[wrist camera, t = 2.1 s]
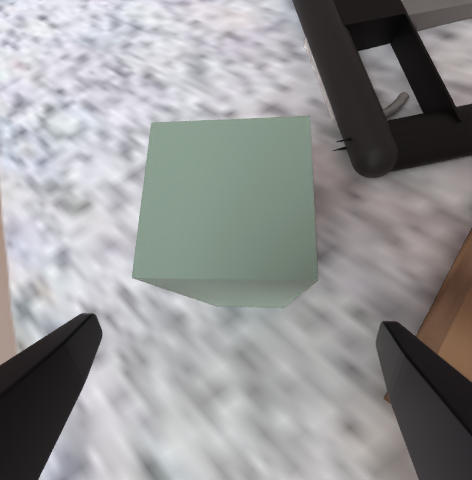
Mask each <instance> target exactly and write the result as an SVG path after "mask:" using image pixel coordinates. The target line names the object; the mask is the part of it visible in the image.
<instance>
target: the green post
mask: <svg viewBox="0 0 472 480" xmlns="http://www.w3.org/2000/svg"><path fill="white" fill-rule="evenodd" d="M132 278H134V279H137V280H140V281H143V282H146V283H149V284H152V285H155V286H158V287H161V288H164V289H166V290H169V291H172V292H175V293H178V294H181V295H184V296H187V297H190V298H193V299H196V300H199V301H202V302H205V303H208V304H211V305H214V306H223V307H266V308H284V307H286V306H287V305H288V304H289V303H291V302H292V301H293V300H294V299H296V298H297V297H298V296H299V295H301V294H302V293H303V292H304V291H306V290H307V289H308V288H309V287H310V286H312V285H313V284H314V283H315V282H317V281H318V267H317V247H316V227H315V207H314V187H313V167H312V147H311V127H310V116H298V117H275V118H251V119H228V120H204V121H181V122H157V123H151V129H150V137H149V145H148V153H147V161H146V169H145V177H144V185H143V193H142V201H141V208H140V216H139V224H138V232H137V240H136V248H135V256H134V264H133V272H132Z"/></svg>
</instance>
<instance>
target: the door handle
mask: <svg viewBox="0 0 472 480" xmlns="http://www.w3.org/2000/svg"><path fill="white" fill-rule="evenodd" d="M293 3H294V6H295V9H296V11H297V14H298V17H299V20H300V22H301V25H302V28H303V31H304V33H305V36H306V37H305V41H304V49H306V50H307V53H308V56H309V59H310V61H311V64H312V67H313V70H314V72H315V75H316V78H317V81H318V84H319V86H320V89H321V92H322V95H323V97H324V100H325V103H326V106H327V109H328V111H329V114H330V117H331V120H332V122H337V124H338V127H339V129H340V132H341V135H342V138H343V140H341V141H337V142H342V141H344V143H345V146H346V147H343V148H340V149H336V150H345V149H347V151H348V154H349V157H350V159H351V162H352V165H353V167H354V169H355V170H356V171H357V172H358V173H359V174H360V175H362V176H365V177H369V178H376V177H380V176H383V175H385V174H387V173H388V172H391V171H396V170H401V169H406V168H411V167H416V166H421V165H426V164H431V163H435V162H440V161H445V160H450V159H455V158H460V157H465V156H470V155H472V104H469V105H464V106H459V107H456V106H455V104H454V102H453V100H452V98H451V96H450V94H449V92H448V90H447V89H446V87H445V85H444V83H443V81H442V79H441V77H440V75H439V73H438V71H437V69H436V67H435V65H434V63H433V62H432V60H431V58H430V56H429V54H428V52H427V50H426V48H425V46H424V44H423V42H422V40H421V38H420V36H419V34H418V33H417V31H420V30H424V29H428V28H432V27H436V26H440V25H444V24H448V23H452V22H456V21H461V20H465V19H469V18H472V0H293ZM389 43H390V44H391V46H392V48H393V50H394V52H395V54H396V56H397V58H398V60H399V63H400V65H401V67H402V69H403V71H404V73H405V75H406V77H407V79H408V81H409V84H410V86H411V88H412V90H413V92H414V94H415V96H416V98H417V100H418V103H419V105H420V107H421V109H422V111H423V114H418V115H413V116H408V117H403V118H398V119H393V120H388V121H387V119H386V117H388V116H390V115H392V114H393V113H394V112H396V111H397V110H398V109H399V108H400V107H401V106H402V105H403V104H404V103H405V102H406V101H407V99H408V98H409V95H408V94H407V93H405V92H403V93H401V94H400V95H399V96H398V98H397V99H396V100H395V101H394V102H393V103H392V104H391V105H390V106H388V107H387V108H386V109H384V110H382V107H381V105H380V103H379V100H378V98H377V96H376V93H375V91H374V89H373V86H372V84H371V82H370V79H369V77H368V75H367V72H366V70H365V68H364V65H363V63H362V60H361V58H360V56H359V53H358V51H360V50H365V49H369V48H373V47H377V46H381V45H385V44H389ZM336 150H333V151H336Z"/></svg>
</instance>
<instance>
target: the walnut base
mask: <svg viewBox="0 0 472 480" xmlns="http://www.w3.org/2000/svg"><path fill="white" fill-rule="evenodd" d="M416 337H417V338H418V339H419V340H421V341H422V342H423V343H424V344H426V345H427V346H428V347H429V348H431V349H432V350H433V351H434V352H435V353H437V354H438V355H439V356H440V357H442V358H443V359H444V360H445V361H446V362H448V363H449V364H450V365H451V366H453V367H454V368H455V369H456V370H458V371H459V372H460V373H461V374H462V375H464V376H465V377H466V378H467V379H469V380H470V381H471V382H472V229H471V231H470V233H469V235H468V237H467V239H466V241H465V243H464V244H463V246H462V248H461V250H460V252H459V254H458V256H457V258H456V260H455V262H454V264H453V266H452V268H451V270H450V272H449V274H448V275H447V277H446V279H445V281H444V283H443V285H442V287H441V289H440V291H439V293H438V295H437V297H436V299H435V301H434V303H433V305H432V307H431V308H430V310H429V312H428V314H427V316H426V318H425V320H424V322H423V324H422V326H421V328H420V330H419V332H418V334H417V336H416ZM384 399H385V400H386V401H388V402H389V403H391V402H390V399H389V395H388V392H387V394H386V396H385V398H384Z"/></svg>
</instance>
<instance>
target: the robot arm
mask: <svg viewBox="0 0 472 480" xmlns="http://www.w3.org/2000/svg"><path fill="white" fill-rule="evenodd" d="M101 339H102V329H101V326H100V324H99V321H98V319H97V316H96V315H95V314H93V313H82V314H80V315H78V316H76V317H75V318H73V319H72V320H70V321H69V322H67V323H66V324H64V325H62V326H61V327H59V328H58V329H56V330H55V331H53V332H51V333H50V334H48V335H47V336H45V337H44V338H42V339H41V340H39V341H37V342H36V343H34V344H33V345H31V346H30V347H28V348H26V349H25V350H23V351H22V352H20V353H19V354H17V355H16V356H14V357H12V358H11V359H10V360H8V361H6V362H5V363H3V364H2V365H0V480H38V479H39V477H40V475H41V473H42V471H43V469H44V467H45V465H46V463H47V461H48V458H49V456H50V454H51V452H52V450H53V448H54V446H55V444H56V442H57V440H58V438H59V436H60V434H61V432H62V430H63V428H64V426H65V423H66V421H67V419H68V417H69V415H70V413H71V411H72V409H73V407H74V405H75V403H76V401H77V399H78V397H79V395H80V393H81V391H82V388H83V386H84V384H85V382H86V379H87V377H88V374H89V371H90V369H91V366H92V363H93V361H94V358H95V355H96V353H97V350H98V347H99V345H100V342H101ZM376 348H377V352H378V356H379V360H380V364H381V368H382V372H383V376H384V380H385V384H386V388H387V392H388V395H389V399H390V402H391V405H392V408H393V411H394V413H395V416H396V419H397V421H398V424H399V427H400V430H401V432H402V435H403V438H404V440H405V443H406V446H407V449H408V451H409V454H410V457H411V459H412V462H413V465H414V468H415V470H416V473H417V476H418V479H419V480H472V382H471V381H470V380H469V379H467V378H466V377H465V376H464V375H462V374H461V373H460V372H459V371H458V370H456V369H455V368H454V367H453V366H451V365H450V364H449V363H448V362H446V361H445V360H444V359H443V358H442V357H440V356H439V355H438V354H437V353H435V352H434V351H433V350H432V349H431V348H429V347H428V346H427V345H426V344H424V343H423V342H422V341H421V340H419V339H418V338H417V337H416V336H415V335H413V334H412V333H411V332H410V331H408V330H407V329H406V328H405V327H404V326H402V325H401V324H400V323H398V322H396V321H382V322H381V324H380V327H379V331H378V335H377V339H376Z"/></svg>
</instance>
